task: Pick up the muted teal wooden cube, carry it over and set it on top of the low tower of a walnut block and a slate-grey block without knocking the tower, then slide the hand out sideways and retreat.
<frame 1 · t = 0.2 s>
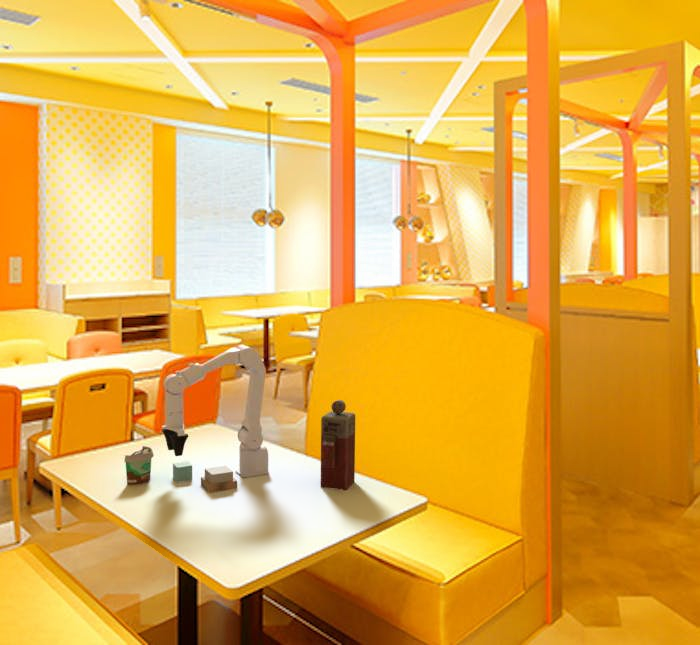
hand: (175, 452, 221), 10 cm above the table, tool pointing down, fingers open, 7 cm apart
red grey gas pump: (336, 486, 222), on the table
food container: (143, 481, 224), on the table
tower base: (218, 488, 219), on the table, touching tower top
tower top: (218, 479, 218), point 2 cm above the table, touching tower base
teal cube: (182, 479, 226), on the table
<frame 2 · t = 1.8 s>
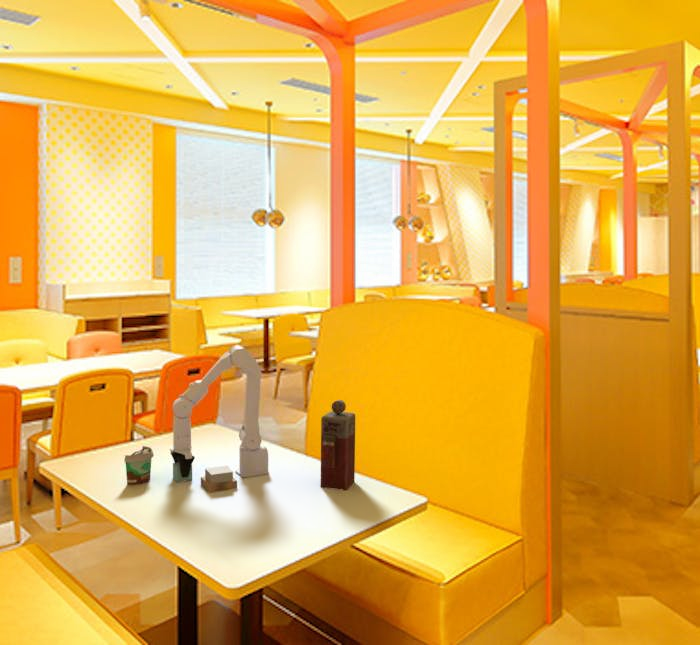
hand: (182, 474, 226), 1 cm above the table, tool pointing down, fingers closed on teal cube, 5 cm apart
teal cube: (182, 478, 226), on the table, touching gripper
everything else where it was.
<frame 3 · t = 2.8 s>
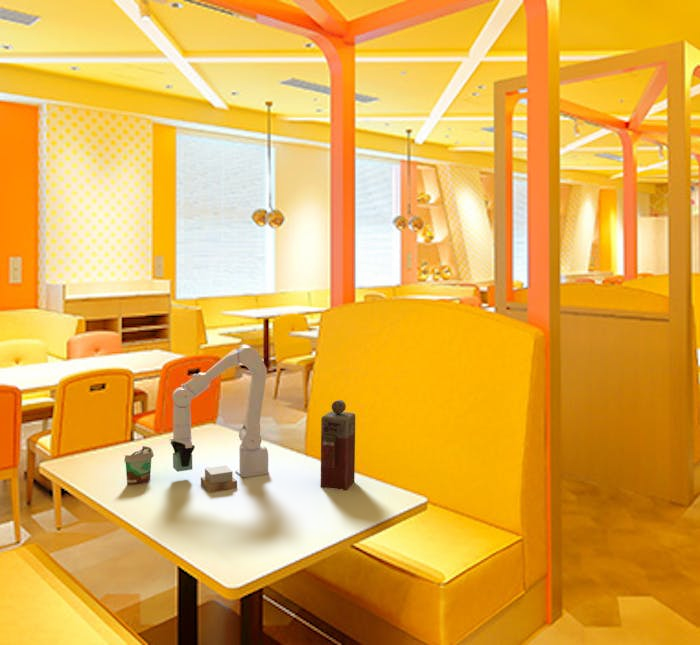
hand: (182, 464, 226), 5 cm above the table, tool pointing down, fingers closed on teal cube, 5 cm apart
teal cube: (182, 468, 226), point 3 cm above the table, touching gripper
everything else where it was.
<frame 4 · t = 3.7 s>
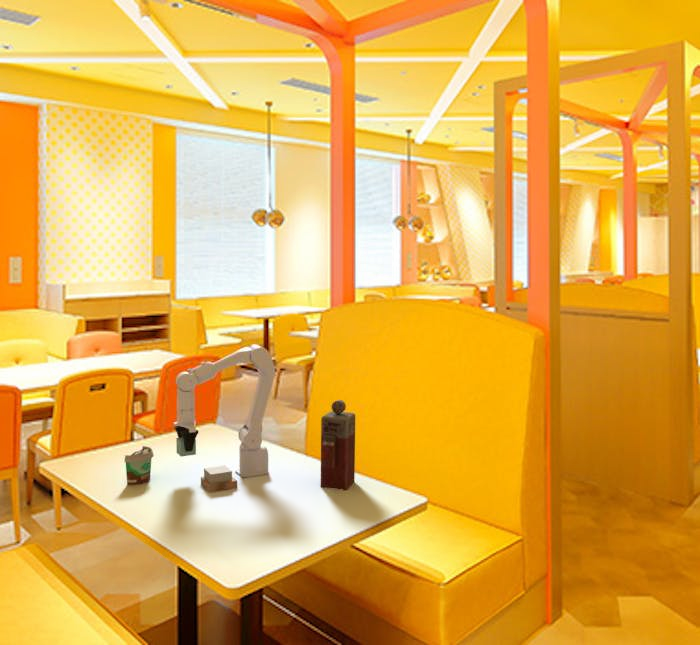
hand: (186, 449, 224), 10 cm above the table, tool pointing down, fingers closed on teal cube, 5 cm apart
teal cube: (186, 453, 225), point 9 cm above the table, touching gripper
everything else where it was.
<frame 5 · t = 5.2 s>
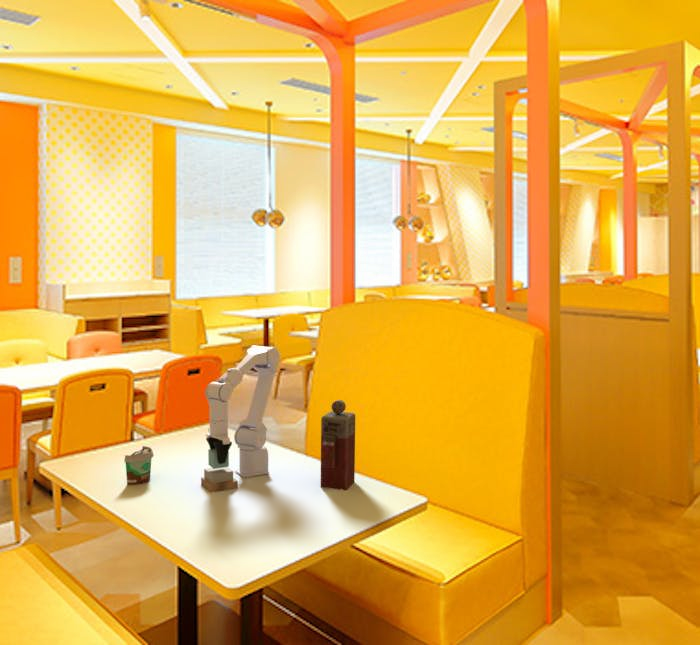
hand: (218, 461, 218), 8 cm above the table, tool pointing down, fingers closed on teal cube, 5 cm apart
tower base: (219, 488, 219), on the table
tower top: (218, 479, 219), point 2 cm above the table
teal cube: (218, 465, 218), point 7 cm above the table, touching gripper
everything else where it was.
when the fingers open (8 cm above the table, at t = 5.6 s): teal cube drops 2 cm, resting on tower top.
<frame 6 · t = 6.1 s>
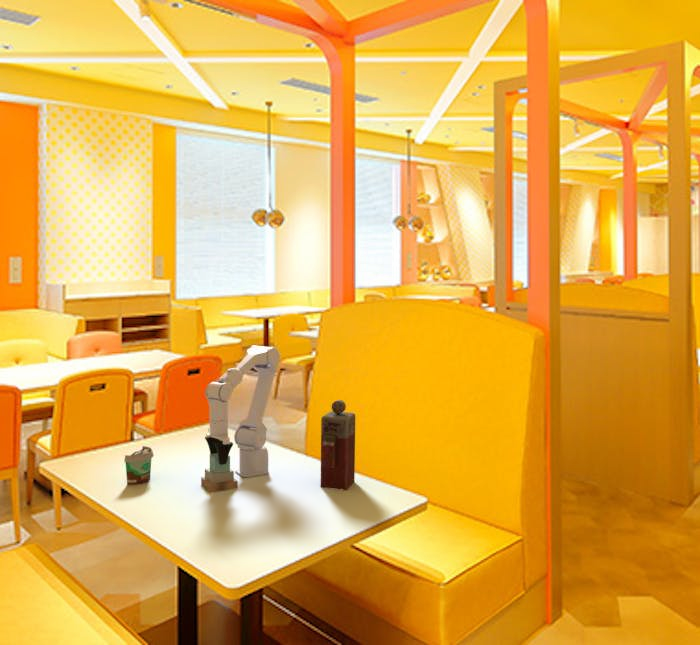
hand: (218, 461, 218), 8 cm above the table, tool pointing down, fingers open, 7 cm apart
tower base: (219, 488, 219), on the table, touching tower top
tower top: (219, 478, 219), point 2 cm above the table, touching teal cube, tower base
teal cube: (219, 470, 219), point 5 cm above the table, touching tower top
everything else where it was.
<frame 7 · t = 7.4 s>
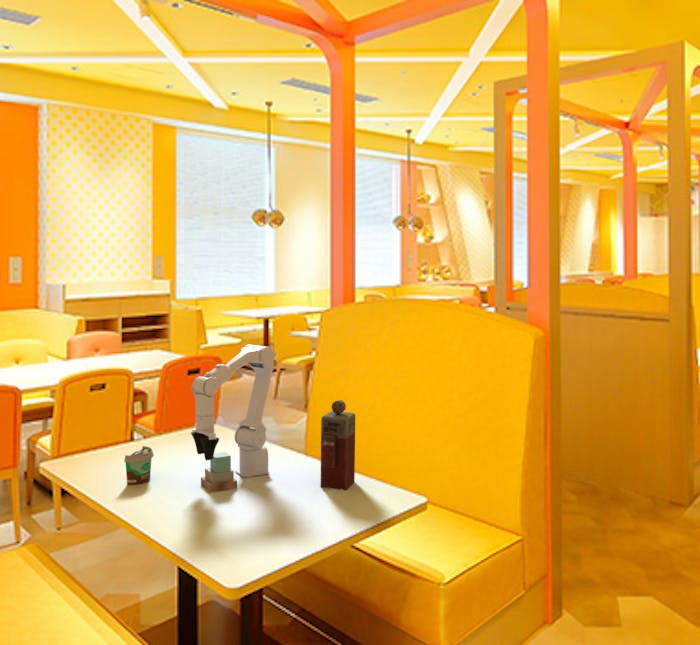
hand: (204, 456, 216), 10 cm above the table, tool pointing down, fingers open, 7 cm apart
nothing on the table moved.
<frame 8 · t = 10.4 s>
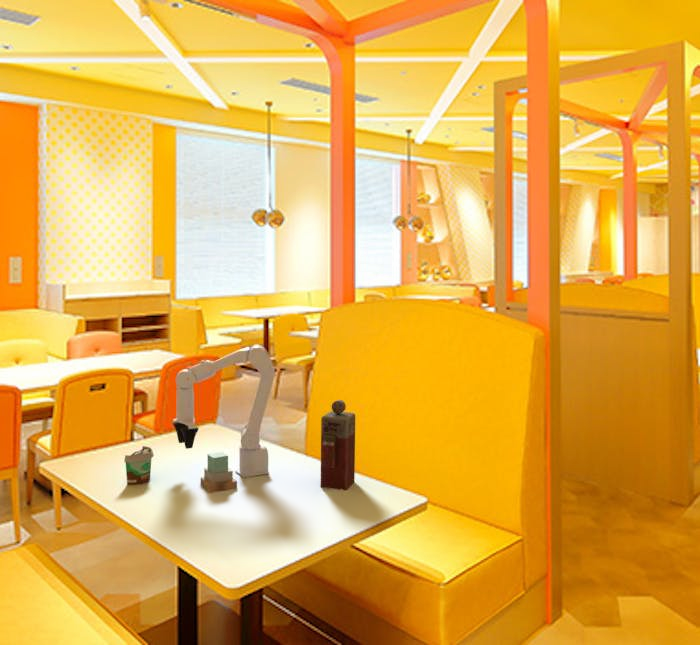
hand: (185, 445, 229), 10 cm above the table, tool pointing down, fingers open, 7 cm apart
nothing on the table moved.
at the end: teal cube 0.5 cm off-centre on the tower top, point 3.0 cm above the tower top's base; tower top moved 0.9 cm from its start; tower base moved 0.6 cm from its start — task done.
